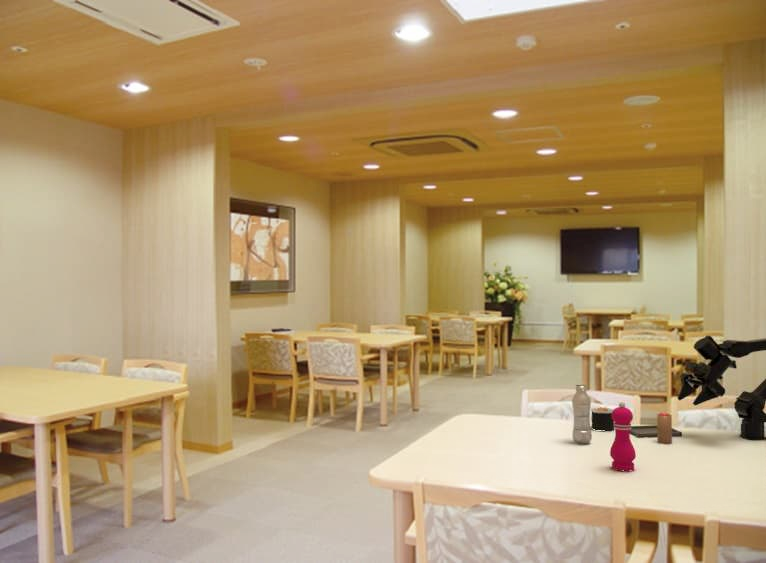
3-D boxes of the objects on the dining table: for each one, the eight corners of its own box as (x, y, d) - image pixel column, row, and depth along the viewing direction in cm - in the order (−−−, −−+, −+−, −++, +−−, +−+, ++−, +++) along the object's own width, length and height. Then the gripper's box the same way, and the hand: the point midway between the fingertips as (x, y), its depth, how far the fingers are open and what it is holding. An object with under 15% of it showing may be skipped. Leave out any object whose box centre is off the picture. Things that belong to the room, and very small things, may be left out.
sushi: (612, 427, 251) (612, 406, 251) (615, 432, 242) (614, 410, 242) (590, 426, 252) (590, 405, 252) (592, 431, 244) (592, 409, 244)
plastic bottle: (571, 444, 226) (570, 386, 226) (573, 439, 232) (572, 383, 232) (591, 446, 223) (590, 387, 223) (592, 441, 229) (591, 384, 229)
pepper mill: (637, 472, 192) (636, 404, 192) (612, 471, 194) (611, 404, 194) (633, 465, 200) (632, 400, 199) (608, 464, 201) (607, 399, 201)
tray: (665, 428, 246) (665, 424, 246) (681, 436, 234) (681, 432, 234) (623, 430, 245) (623, 426, 245) (638, 437, 233) (638, 433, 233)
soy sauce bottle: (667, 440, 229) (667, 411, 229) (674, 443, 224) (674, 414, 224) (655, 441, 228) (654, 412, 228) (661, 444, 224) (660, 414, 224)
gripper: (684, 350, 237) (655, 382, 236) (716, 356, 219) (686, 390, 217) (704, 371, 238) (676, 403, 237) (738, 379, 220) (708, 413, 218)
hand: (686, 402), depth 227 cm, fingers open, 9 cm apart
